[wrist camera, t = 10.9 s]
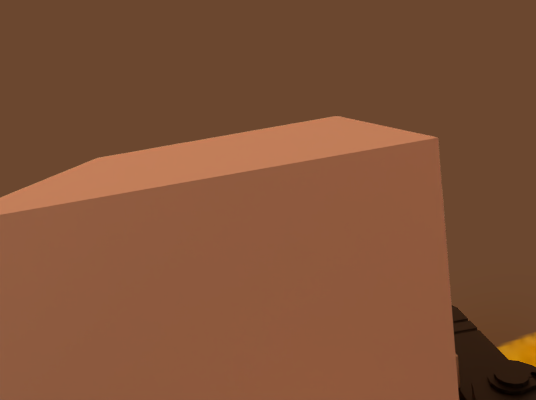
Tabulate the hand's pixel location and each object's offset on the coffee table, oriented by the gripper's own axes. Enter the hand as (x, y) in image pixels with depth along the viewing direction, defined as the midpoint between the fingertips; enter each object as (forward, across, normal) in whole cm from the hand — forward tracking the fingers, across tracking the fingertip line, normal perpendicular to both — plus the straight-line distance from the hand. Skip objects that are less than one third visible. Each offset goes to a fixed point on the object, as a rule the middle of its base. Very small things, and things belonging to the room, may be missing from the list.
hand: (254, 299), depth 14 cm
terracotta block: (-5, 0, -6) cm, 8 cm away
